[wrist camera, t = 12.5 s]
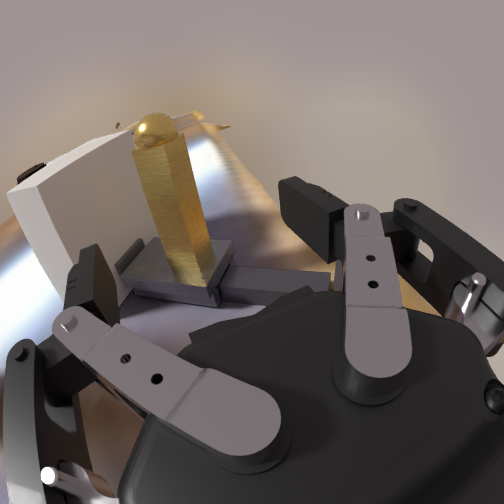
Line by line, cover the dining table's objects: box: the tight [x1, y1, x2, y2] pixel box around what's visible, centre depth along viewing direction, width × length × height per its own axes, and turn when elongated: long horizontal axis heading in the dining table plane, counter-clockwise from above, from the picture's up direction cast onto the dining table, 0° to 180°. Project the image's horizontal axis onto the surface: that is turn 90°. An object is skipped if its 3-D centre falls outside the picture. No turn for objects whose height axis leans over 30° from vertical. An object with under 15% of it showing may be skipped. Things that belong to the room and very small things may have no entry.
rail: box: [217, 260, 342, 306], centre depth 30 cm, size 26×4×4 cm, turn 73°
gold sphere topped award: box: [120, 113, 235, 307], centre depth 27 cm, size 10×7×18 cm
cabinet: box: [6, 130, 159, 307], centre depth 31 cm, size 8×15×16 cm, turn 163°
